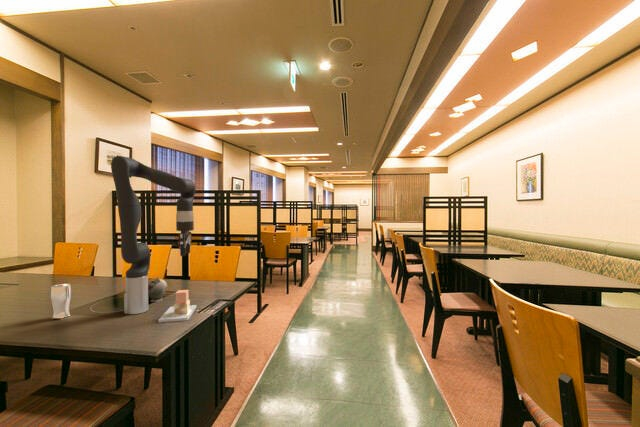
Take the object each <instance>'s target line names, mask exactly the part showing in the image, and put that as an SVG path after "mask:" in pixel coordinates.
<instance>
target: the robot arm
mask: <svg viewBox="0 0 640 427" xmlns="http://www.w3.org/2000/svg"><path fill="white" fill-rule="evenodd" d="M110 169H111V174H112V175H111V176H112V178H113V182H114V187H115V194H116V200H117V210H118V211H117V212H118V217H119V225H120V252H121V253H120V254H121V258H122V260H123V261H124V262H125V263H126V264H129V265H130V264H131V265H130V267H129V268H128V269H127V270H126V271H125V293H124V294H123V302H124V303H123V305H124V306H123V308H124V309H123V310H124V312H123V313H124V314H126V315H135V314H143V313H144V312H147V311H149V295H148V285H149V271H150V268H151V250H150V247H149V245H148V244H147V243H145V242H138V239H137V237H138V236H137V235H138V234H137V232H138V228H139V225H140V223H141V220H142V207H141V202H140V199H139V197H138V196H137V194H136V193H135V191H134V189H133V188H132V186H131V181H130V177H131V178H133V177H134V178H138V179H139V178H140V179H144V180H147V181H149V182H150V183H152V184H155V185H157V186H160V187H164V188H166V189H169V190H171V191H173V192H175V193H179V194H181V195H180V198H179V199H177V200H176V214H175V221H176V222H175V227H176V229H175V230H176V231H177V232H180V233H178V245H177V247H178V248H179V251H180V252H179V254H180V257H185V256H186V255H187V254H190V253H191V245H192V232H191V231H194V228H195V227H194V225H195V224H194V222H195V221H194V219H195V218H194V204H193V202H194V199H195V194H196V184H195V182H194V181H193V180H191V179H190V178H189V179H188V178H184V177H179V176H176V175H174V174H173V173H169V172H167V171H163V170H160V169H156V168H153V167H150V166H147V165H145V164H144V163H142V162H140V161H138V160H136V159H134V158H132V157H127V156H122V155H116V156H114V157H113V158H112V160H111V163H110Z"/></svg>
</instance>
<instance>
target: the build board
mask: <svg viewBox="0 0 640 427" xmlns="http://www.w3.org/2000/svg"><path fill="white" fill-rule="evenodd" d="M196 308H197V304H193V305H191V304H190V311H189V312H188V314H183V315H174V305H173V306H170V307H169V308H168V309H167V310H166V311H165V312H164V313H163V314H162V316H160V317H159V319H158V321H157V322H158V323H172V322H183V321H188V320H189V319H190V318H191V316H192V315H193V313H194V312H195V310H196Z"/></svg>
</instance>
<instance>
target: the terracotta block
mask: <svg viewBox="0 0 640 427" xmlns="http://www.w3.org/2000/svg"><path fill="white" fill-rule="evenodd" d="M189 298H190V296H189V289H180V290H179V289H178V290H177V291H176V292H175V303H176V304H181V303H187V302H188V300H190V299H189Z"/></svg>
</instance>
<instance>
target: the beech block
mask: <svg viewBox="0 0 640 427" xmlns="http://www.w3.org/2000/svg"><path fill="white" fill-rule="evenodd" d="M190 305H191V300H190V299H189V300H188V302H187V303H181V304H176V302H174V304H173V306H174V315H183V314H188V312H189V311H190Z"/></svg>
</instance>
